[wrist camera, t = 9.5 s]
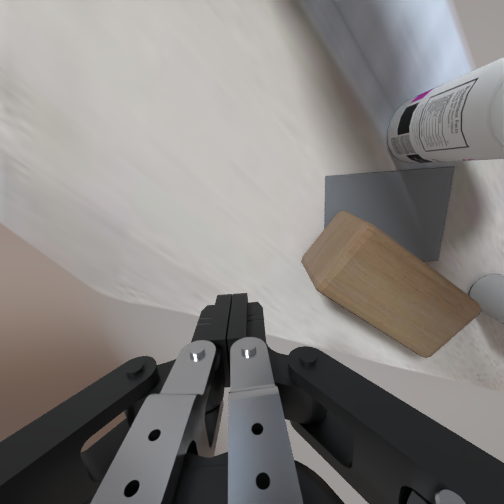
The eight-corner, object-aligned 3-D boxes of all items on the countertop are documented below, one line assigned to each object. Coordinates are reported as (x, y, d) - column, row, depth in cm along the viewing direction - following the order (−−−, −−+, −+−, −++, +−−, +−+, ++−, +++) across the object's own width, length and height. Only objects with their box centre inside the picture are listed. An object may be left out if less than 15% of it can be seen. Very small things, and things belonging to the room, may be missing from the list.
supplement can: (416, 82, 32) (552, 10, 18) (458, 124, 33) (614, 89, 19) (371, 138, 34) (461, 114, 20) (413, 175, 35) (523, 178, 21)
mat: (325, 176, 35) (326, 176, 35) (452, 166, 35) (454, 166, 35) (323, 267, 40) (324, 268, 39) (436, 259, 39) (438, 260, 39)
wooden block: (339, 206, 36) (433, 275, 40) (297, 259, 39) (388, 319, 43) (371, 221, 27) (489, 310, 31) (313, 290, 29) (428, 363, 33)
